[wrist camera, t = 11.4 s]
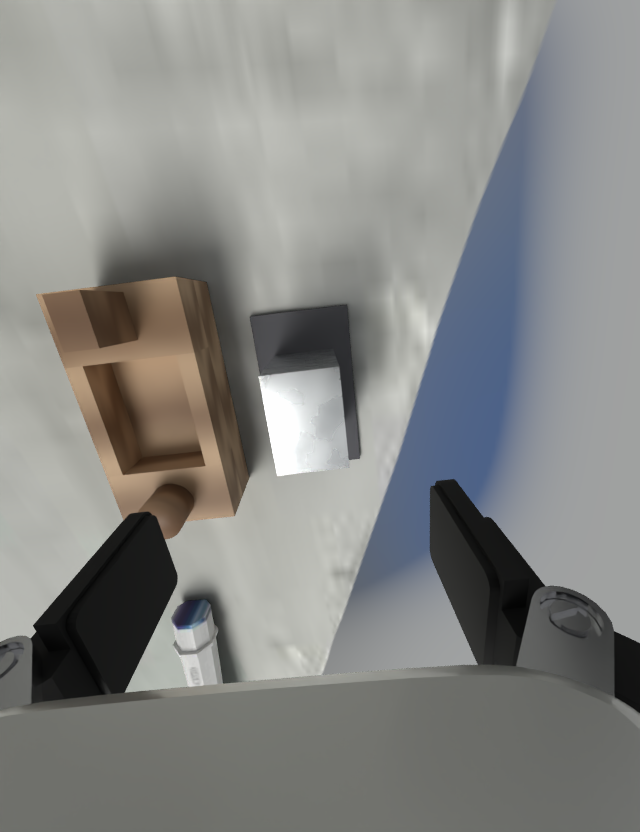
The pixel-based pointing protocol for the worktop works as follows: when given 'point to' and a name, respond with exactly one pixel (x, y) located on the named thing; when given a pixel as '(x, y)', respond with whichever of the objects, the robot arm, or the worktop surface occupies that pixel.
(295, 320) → the rubber mat
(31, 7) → the worktop surface
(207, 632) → the electric toothbrush
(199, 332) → the body
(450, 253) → the worktop surface
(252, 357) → the worktop surface
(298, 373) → the silver block
